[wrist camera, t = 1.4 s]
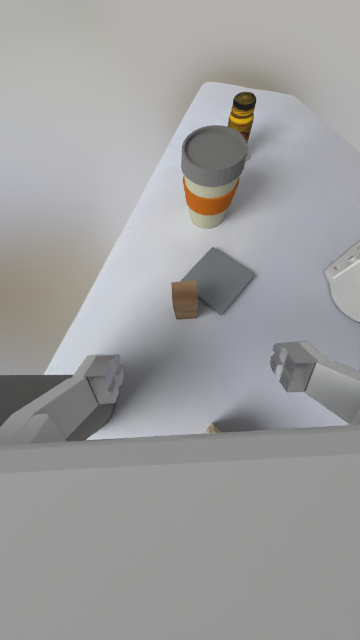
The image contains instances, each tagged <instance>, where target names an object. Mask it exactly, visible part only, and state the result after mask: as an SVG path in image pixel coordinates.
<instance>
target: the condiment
mask: <svg viewBox="0 0 360 640" xmlns="http://www.w3.org/2000/svg"><path fill="white" fill-rule="evenodd" d="M255 104H256V97H255V95H254V94H253V93H250V92H241V93H239V94H237V95H236V96H235V98H234V100H233V106H232V111H231V113H230V116H229V122H228V127H230V128H232V129H235V130H236V131H238V132H239V133H240V134H242V135H243V137H244V138H245V140H246V142H247V143H248V139H249V135H250V131H251V127H252V123H253V118H254V113H253V112H254V109H255ZM249 158H251V157H250V156H248V155H247V154H246V158H245V160H247V159H249Z"/></svg>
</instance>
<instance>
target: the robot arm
mask: <svg viewBox="0 0 360 640" xmlns="http://www.w3.org/2000/svg"><path fill="white" fill-rule="evenodd" d="M324 274H325V276H326V278H327V280H328V281H329V283H330V290H331V295H332V298H333V300H334V302H335V303H336V305H337V306H338V307H339V309H340V310H341V311H342V312H343V313H344V314H346V315H347V316H348V317H350V318H352V319H353V320H355V321H358V322H360V241H359V242H357V243H356V244H355V245H354V246H353V247H351V248H350V249H349V250H348V251H347V252H345V253H344V254H343V255H342V256H341V257H339V258H338V259H337V260H336V261H335V262H333V263H332V264H331V265H330V266H329V267H327V268H326V269H325V270H324ZM273 351H274V354H273V355H272V356H271V360H270V364H271V368H272V371H273V372H274V374H275V375H276V376H278V377H280V381H279V382H280V383H281V384H282V386H283V387H284V389H285V390H286V392H305V393H306V394H308V395H309V396H310V397H312V398H313V399H315V400H316V401H318V402H319V403H320V404H322V405H323V406H325V407H326V408H327V409H329V410H330V411H332V412H333V413H335V414H336V415H337V416H339V417H340V418H342V419H343V420H344V421H346V422H347V423H349V424H350V425H346V426H329V427H311V428H294V429H277V430H260V431H243V432H225V433H207V434H189V435H171V436H154V437H136V438H119V439H101V440H84V441H66V440H65V439H66V438H67V437H68V436H69V435H70V434H71V433H72V432H73V431H74V430H75V429H76V428H77V427H78V426H79V425H80V424H81V423H82V422H83V421H84V420H85V419H86V417H87V416H88V415H89V414H90V413H91V412H92V411H93V410H94V409H95V408H96V407H97V406H98V404H107V403H116V400H117V397H118V394H119V388H118V387H119V386H121V385H122V383H123V379H124V369H123V366H122V365H120V364H119V363H120V360H121V359H120V356H119V355H118V354H99V355H89V356H87V357H86V358H85V360H84V361H83V363H82V364H81V365H80V367H79V368H78V370H77V371H76V373H75V374H74V375H73V377H72V378H68V379H67V380H65V381H63V382H62V383H60V384H59V385H57V386H56V387H54V388H52V389H51V390H49V391H48V392H46V393H45V394H43V395H42V396H40V397H38V398H37V399H35V400H34V401H32V402H31V403H29V404H27V405H26V406H24V407H23V408H21V409H20V410H18V411H16V412H15V413H13V414H12V415H11V416H10V417H9V418H8V419H7V420H6V421H5V423H4V424H3V425H2V426H1V427H0V640H360V371H358V370H355V369H353V368H350V367H348V366H345V365H343V364H340V363H338V362H335V361H330V360H329V359H328V358H327V357H326V356H325V355H323V354H322V353H321V352H320V351H319V350H318V349H316V348H315V347H314V346H313V345H312V344H311V343H309V342H308V341H297V342H288V343H275V345H274V346H273Z"/></svg>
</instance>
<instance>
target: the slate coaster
mask: <svg viewBox="0 0 360 640" xmlns="http://www.w3.org/2000/svg"><path fill="white" fill-rule="evenodd" d="M253 276H254V274H253V273H251V272H250V271H248V270H247V269H245V268H244V267H242V266H241V265H239V264H238V263H236V262H235V261H233V260H232V259H230V258H229V257H227V256H226V255H224V254H223V253H221V252H220V251H218V250H217V249H215V248H214V247H212V248H211V249H210V250H209V251H208V252H207V253H206V255H205V256H204V257H203V258H202V259H201V260H200V261H199V262H198V263H197V264H196V265H195V266H194V267H193V268H192V269H191V271H190V272H189V273H188V274H187V275H186V276H185V277H184V278H183V279H182V280H181V281H180V282H184V281H195V280H196V286H197V295H198V298H199V299H200V300H202V301H203V302H204V303H206V304H207V305H208V306H210V307H211V308H212V309H214V310H215V311H216V312H218V313H219V314H220V315H222V314H223V312H224V311H225V310H226V309H227V308H228V306H229V305H230V304H231V303H232V302H233V300H234V299H235V298H236V297H237V296H238V295H239V293H240V292H241V291H242V290H243V289H244V287H245V286H246V285H247V284H248V283H249V281H250V280H251V279H252V278H253Z"/></svg>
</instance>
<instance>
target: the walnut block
mask: <svg viewBox="0 0 360 640" xmlns="http://www.w3.org/2000/svg"><path fill="white" fill-rule="evenodd" d="M171 284H172V300H173V308H174V312H175V315H176V319H189V318H197V310H198V295H197V286H196V280H195V281H184V282H173V283H171Z"/></svg>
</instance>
